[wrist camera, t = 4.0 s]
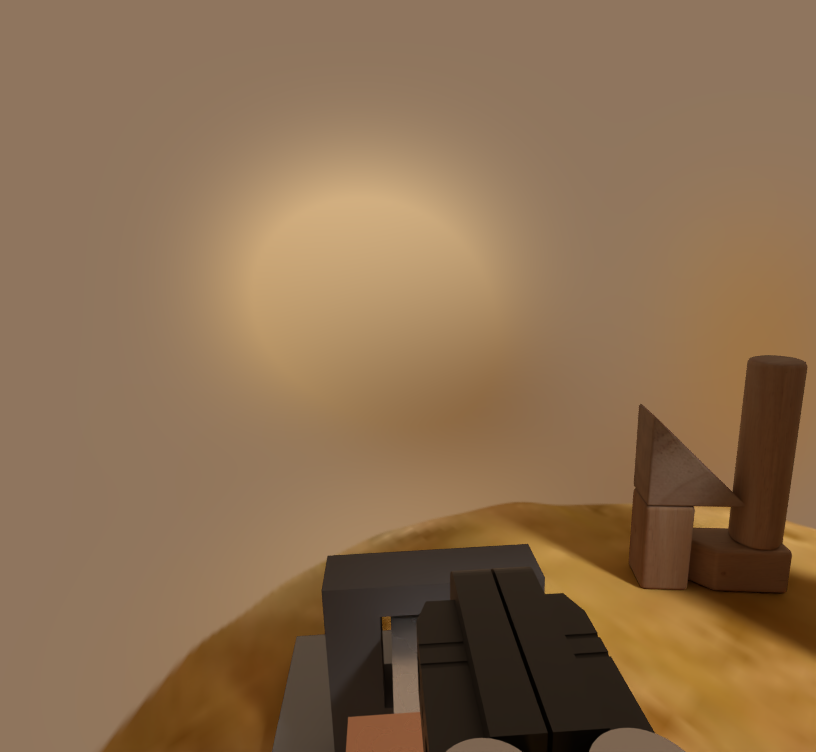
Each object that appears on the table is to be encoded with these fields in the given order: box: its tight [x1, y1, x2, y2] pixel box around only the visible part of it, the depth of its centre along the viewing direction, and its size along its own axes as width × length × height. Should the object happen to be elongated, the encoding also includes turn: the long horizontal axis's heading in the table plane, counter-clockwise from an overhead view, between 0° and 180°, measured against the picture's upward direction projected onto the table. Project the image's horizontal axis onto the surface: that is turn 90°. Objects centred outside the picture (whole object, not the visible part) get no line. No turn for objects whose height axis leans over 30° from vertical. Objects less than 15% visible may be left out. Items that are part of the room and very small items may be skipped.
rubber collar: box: [322, 544, 545, 752], centre depth 26 cm, size 10×3×10 cm, turn 93°
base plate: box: [272, 630, 392, 752], centre depth 28 cm, size 17×17×2 cm
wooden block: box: [629, 355, 807, 593], centre depth 41 cm, size 4×11×18 cm, turn 84°
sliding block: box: [346, 614, 424, 752], centre depth 24 cm, size 7×14×7 cm, turn 3°
